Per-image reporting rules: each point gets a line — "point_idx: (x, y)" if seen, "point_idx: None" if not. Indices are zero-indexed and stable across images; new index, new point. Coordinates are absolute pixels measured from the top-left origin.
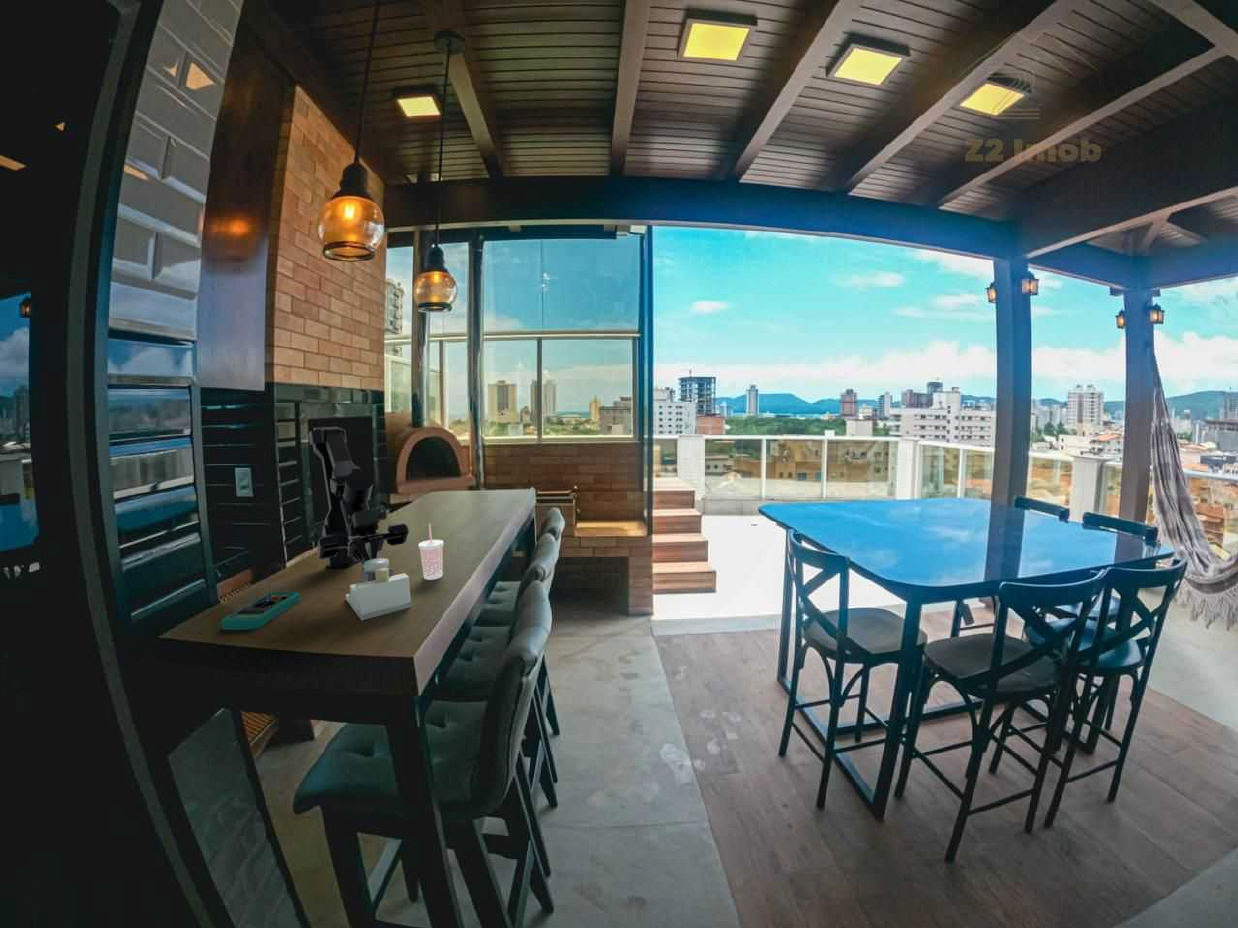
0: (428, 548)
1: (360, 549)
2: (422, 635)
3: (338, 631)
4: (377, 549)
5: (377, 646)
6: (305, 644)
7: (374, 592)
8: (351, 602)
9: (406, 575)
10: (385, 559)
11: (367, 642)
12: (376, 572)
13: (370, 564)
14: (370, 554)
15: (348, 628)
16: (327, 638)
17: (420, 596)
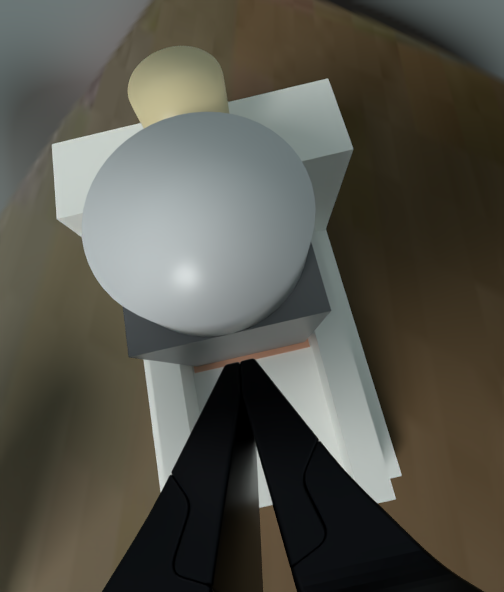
0: None
1: (402, 569)
2: (145, 26)
3: (376, 139)
4: (120, 563)
5: (260, 12)
6: (464, 92)
7: None
8: (359, 339)
9: (58, 171)
10: (106, 245)
11: (286, 40)
12: (217, 65)
13: (251, 150)
14: (241, 580)
15: None
16: (403, 105)
17: (80, 327)
